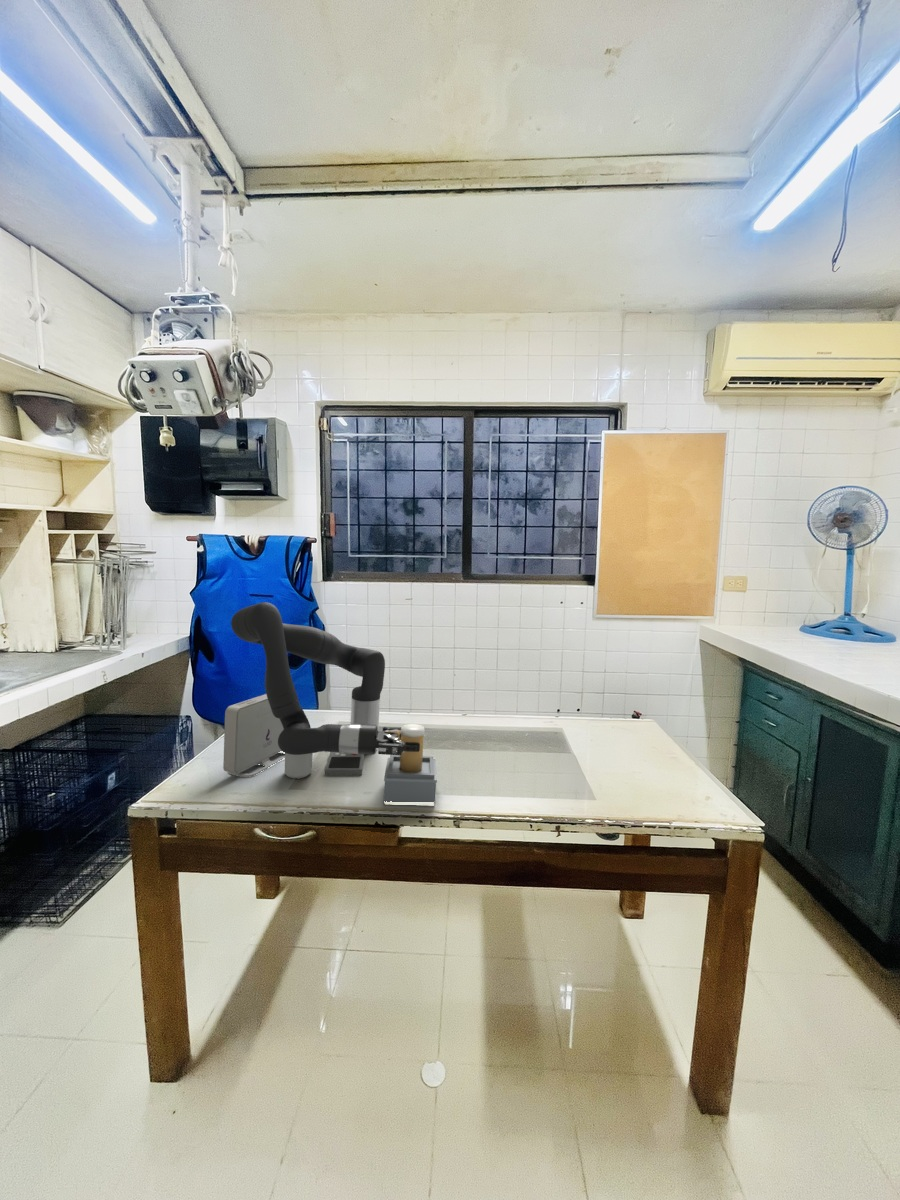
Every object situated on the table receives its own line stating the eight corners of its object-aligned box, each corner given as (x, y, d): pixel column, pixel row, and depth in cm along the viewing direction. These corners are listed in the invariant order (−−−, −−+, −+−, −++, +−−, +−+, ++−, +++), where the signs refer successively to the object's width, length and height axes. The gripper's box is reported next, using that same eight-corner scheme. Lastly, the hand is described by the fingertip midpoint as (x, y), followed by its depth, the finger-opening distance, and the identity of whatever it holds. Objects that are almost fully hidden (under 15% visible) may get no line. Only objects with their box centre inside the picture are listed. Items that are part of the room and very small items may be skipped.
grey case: (386, 781, 131) (388, 754, 130) (433, 783, 132) (435, 755, 131) (382, 805, 118) (384, 774, 117) (435, 807, 118) (437, 776, 118)
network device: (240, 784, 125) (243, 710, 123) (214, 777, 127) (217, 705, 126) (299, 751, 149) (302, 689, 148) (276, 746, 152) (279, 686, 150)
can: (303, 781, 128) (305, 738, 127) (278, 777, 130) (280, 735, 129) (316, 770, 135) (318, 730, 135) (293, 767, 137) (294, 727, 136)
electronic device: (364, 748, 149) (362, 768, 134) (364, 756, 149) (361, 777, 134) (331, 748, 147) (324, 768, 133) (330, 756, 148) (324, 777, 133)
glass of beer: (399, 763, 127) (401, 723, 126) (422, 763, 128) (424, 724, 127) (398, 772, 121) (400, 731, 120) (422, 773, 121) (424, 732, 121)
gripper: (355, 734, 116) (420, 736, 117) (362, 716, 130) (420, 718, 131) (354, 763, 116) (419, 765, 117) (361, 742, 130) (419, 744, 131)
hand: (419, 741), depth 124 cm, fingers open, 8 cm apart
